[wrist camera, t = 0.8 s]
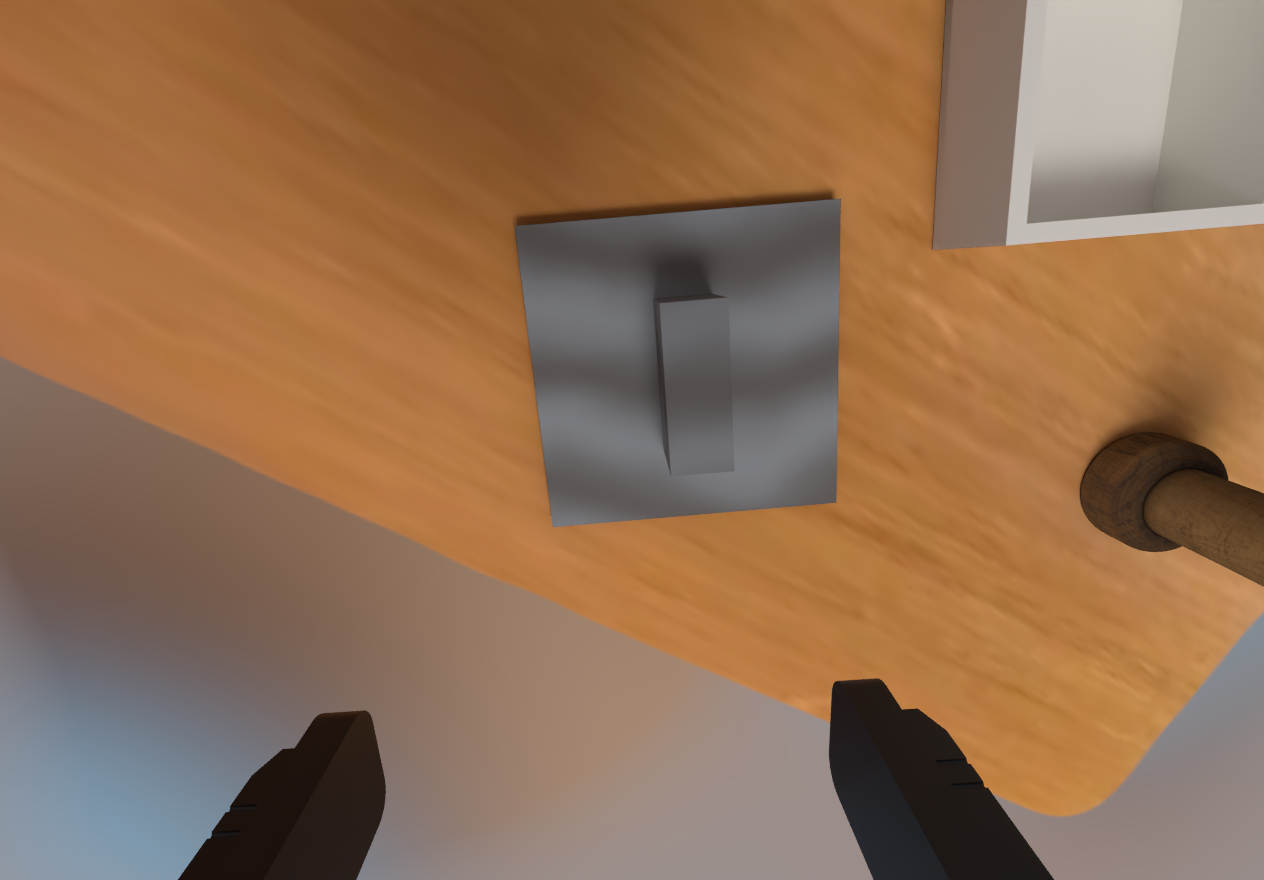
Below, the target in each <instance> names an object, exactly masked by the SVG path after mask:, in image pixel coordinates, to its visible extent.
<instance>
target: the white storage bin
mask: <svg viewBox="0 0 1264 880" xmlns="http://www.w3.org/2000/svg"><path fill="white" fill-rule="evenodd" d="M1263 223H1264V0H946V13H945V31H944V50H943V68H942V86H941V104H940V122H939V141H938V159H937V177H936V195H935V213H934V232H933V250H942V249H958V248H973V247H988V246H1004V245H1016V244H1028V243H1040V242H1051V241H1063V240H1075V239H1087V238H1098V237H1110V236H1122V235H1134V234H1145V233H1157V232H1169V231H1181V230H1192V229H1204V228H1216V227H1228V226H1239V225H1251V224H1263Z"/></svg>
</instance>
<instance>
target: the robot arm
mask: <svg viewBox="0 0 1264 880" xmlns="http://www.w3.org/2000/svg"><path fill="white" fill-rule="evenodd" d="M829 743H830V744H829V761H830V769H831V774H832V779H833V783H834V786H835V789H836V792H837V795H838V797H839V800H840V802H841V804H842V807H843V809H844V811H845V814H846V816H847V819H848V821H849V823H850V826H851V828H852V830H853V832H854V835H855V837H856V839H857V842H858V844H859V847H860V849H861V851H862V853H863V856H864V858H865V861H866V863H867V865H868V868H869V870H870V872H871V875H872V877H873V879H874V880H1054V879H1053V878H1052V876H1051V875H1050V873H1049V872H1048V871H1047V869H1046V868H1045V866H1044V865H1043V864H1042V862H1041V861H1040V860H1039V858H1038V857H1037V855H1036V854H1035V853H1034V851H1033V850H1032V848H1031V847H1030V846H1029V844H1028V843H1027V841H1026V840H1025V839H1024V837H1023V836H1022V835H1021V834H1020V832H1019V830H1018V829H1017V828H1016V826H1015V825H1014V824H1013V822H1012V821H1011V820H1010V818H1009V817H1008V815H1007V814H1006V812H1005V811H1004V810H1003V808H1002V807H1001V805H1000V804H999V803H998V801H997V800H996V799H995V797H994V796H993V794H992V793H991V792H990V790H989V789H988V788H985V787H984V784H983V781H982V779H981V778H980V776H979V775H978V774H977V772H976V771H975V769H974V768H973V767H972V765H971V764H968V763H967V759H966V757H965V756H964V754H963V753H962V751H961V750H960V749H959V747H958V746H957V744H956V743H955V742H954V740H953V739H952V738H951V736H950V735H949V733H948V732H947V731H946V730H945V729H944V728H942V727H941V726H940V725H938V724H937V723H936V722H935V721H933V720H932V719H931V718H929V717H928V716H927V715H925V714H924V713H923V712H922V711H920V710H919V709H904V710H902V709H901V708H900V706H899V705H898V703H897V702H896V700H895V698H894V697H893V695H892V694H891V692H890V691H889V689H888V688H887V686H886V685H885V684H884V682H883V681H882V680H880V679H862V680H847V681H836V682H835V683H834V684H833V688H832V701H831V721H830V742H829ZM385 789H386V786H385V778H384V773H383V768H382V763H381V759H380V754H379V750H378V744H377V740H376V735H375V730H374V725H373V721H372V718H371V715H370V714H369V713H368V712H367V711H351V712H336V713H323V714H320V715H318V716H317V717H316V718H315V719H314V720H313V721H312V723H311V725H310V726H309V727H308V729H307V731H306V732H305V734H304V735H303V737H302V738H301V740H300V741H299V743H298V744H297V746H296V747H295V748H293V749H282V750H281V751H280V752H279V753H278V754H277V755H275V756H274V757H273V758H272V759H271V760H270V761H268V762H267V763H266V764H265V765H264V766H263V767H261V768H260V769H259V770H258V771H257V772H256V773H255V774H253V775H252V776H251V778H250V779H249V781H248V782H247V783H246V785H245V786H244V787H243V789H242V790H241V792H240V793H239V795H238V796H237V797H236V799H235V800H234V802H233V803H232V804H231V806H230V811H229V812H226V813H225V814H224V816H223V817H222V818H221V820H220V821H219V823H218V824H217V825H216V827H215V828H214V830H213V831H212V836H211V838H210V839H207V840H206V841H205V843H204V844H203V845H202V847H201V848H200V849H199V851H198V852H197V854H196V855H195V856H194V858H193V859H192V861H191V862H190V864H189V865H188V866H187V868H186V869H185V871H184V872H183V873H182V875H181V876H180V878H179V879H178V880H356V879H357V877H358V874H359V872H360V869H361V867H362V865H363V862H364V860H365V858H366V855H367V853H368V850H369V848H370V846H371V843H372V841H373V839H374V836H375V834H376V831H377V829H378V827H379V824H380V821H381V818H382V814H383V810H384V804H385V794H386V791H385Z"/></svg>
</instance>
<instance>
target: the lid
mask: <svg viewBox="0 0 1264 880" xmlns="http://www.w3.org/2000/svg"><path fill="white" fill-rule="evenodd" d="M840 208H841V199H831V200H819V201H807V202H795V203H784V204H772V205H760V206H748V207H736V208H724V209H712V210H700V211H688V212H676V213H664V214H652V215H640V216H628V217H616V218H604V219H592V220H580V221H569V222H557V223H545V224H533V225H521V226H515V233H516V241H517V249H518V257H519V265H520V272H521V280H522V288H523V296H524V304H525V312H526V319H527V327H528V335H529V343H530V351H531V359H532V367H533V374H534V382H535V390H536V398H537V406H538V414H539V421H540V429H541V437H542V445H543V453H544V461H545V468H546V476H547V484H548V492H549V500H550V508H551V516H552V523H553V527H560V526H571V525H583V524H594V523H606V522H617V521H629V520H640V519H652V518H664V517H675V516H687V515H698V514H710V513H721V512H733V511H745V510H756V509H768V508H779V507H791V506H802V505H814V504H826V503H836V485H837V416H838V347H839V278H840Z"/></svg>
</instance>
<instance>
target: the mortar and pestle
mask: <svg viewBox="0 0 1264 880" xmlns="http://www.w3.org/2000/svg"><path fill="white" fill-rule="evenodd" d="M1081 503H1082V507H1083V510H1084V512H1085V514H1086V516H1087V518H1088V519H1089V521H1090V522H1091V523H1092V524H1093V525H1094V526H1095V527H1097V528H1098V529H1099V530H1101V531H1102V532H1104V533H1106V534H1108V535H1109V536H1111V537H1113V538H1115V539H1117V540H1119V541H1121V542H1123V543H1124V544H1126V545H1128V546H1130V547H1133V548H1135V549H1138V550H1142V551H1148V552H1162V551H1169V550H1173V549H1176V548H1179V547H1181V546H1184V547H1186V548H1188V549H1190V550H1192V551H1194V552H1196V553H1198V554H1200V555H1202V556H1204V557H1206V558H1208V559H1210V560H1212V561H1214V562H1216V563H1218V564H1220V565H1222V566H1224V567H1226V568H1228V569H1230V570H1232V571H1234V572H1236V573H1238V574H1240V575H1242V576H1244V577H1246V578H1248V579H1250V580H1252V581H1254V582H1256V583H1258V584H1260V585H1262V586H1264V493H1261V492H1258V491H1256V490H1253V489H1250V488H1247V487H1244V486H1242V485H1239V484H1236V483H1233V482H1231V481H1228V475H1227V471H1226V469H1225V466H1224V464H1223V463H1222V461H1221V460H1220V459H1219V457H1218V456H1217V455H1216V454H1214V453H1213V452H1212V451H1210V450H1209V449H1207V448H1205V447H1203V446H1200V445H1197V444H1194V443H1191V442H1188V441H1185V440H1182V439H1179V438H1176V437H1173V436H1169V435H1165V434H1161V433H1152V432H1148V433H1139V434H1134V435H1131V436H1127V437H1125V438H1122V439H1120V440H1118V441H1116V442H1115V443H1113V444H1111V445H1110V446H1109V447H1107V448H1106V449H1105V450H1104V451H1103V452H1101V453H1100V454H1099V455H1098V456H1097V457H1096V459H1095V460H1094V461H1093V463H1092V464H1091V465H1090V467H1089V468H1088V470H1087V472H1086V474H1085V476H1084V479H1083V482H1082V485H1081Z"/></svg>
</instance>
